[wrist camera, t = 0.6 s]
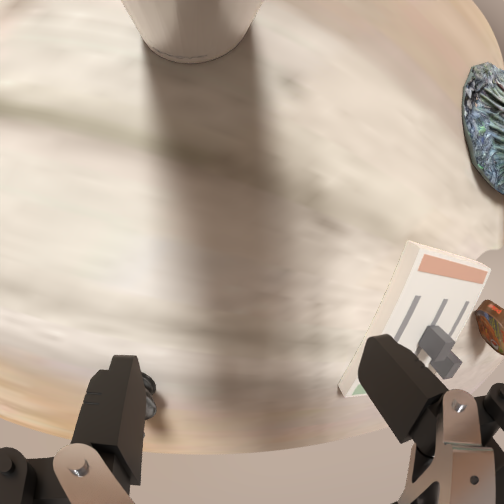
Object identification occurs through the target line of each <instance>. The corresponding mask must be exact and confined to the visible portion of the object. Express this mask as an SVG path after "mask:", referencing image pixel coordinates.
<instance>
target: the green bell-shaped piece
mask: <svg viewBox="0 0 504 504" xmlns="http://www.w3.org/2000/svg"><path fill="white" fill-rule="evenodd" d="M476 97H477V98H478V100H476ZM475 102H476V104H477V107H476V106H475ZM462 121H463V127H464V134H465V137H466V141H467V144H468V148H469V152H470V156H471V160H472V163H473V165H474V166H475V167H476V169H477V170H478V171H479V173H480V174H481V175H482V176H483V178H484V179H485V180H486V181H487V182H488V183H489V184H490V185H491V186H492V187H493V188H494V189H496V190H497V191H498V192H500V193H501V194H504V71H503V70H501V69H498V68H497V67H496V66H495V65H493V64H491V63H488V62H487V63H483V64H480V65H476V66H473V67H471V70H470V73H469V75H468V78H467V80H466V83H465V85H464V87H463V96H462Z"/></svg>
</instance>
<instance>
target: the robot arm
mask: <svg viewBox="0 0 504 504" xmlns="http://www.w3.org/2000/svg"><path fill="white" fill-rule="evenodd" d="M121 1H122V3H123V5H124V7H125V8H126V10H127V12H128V13H129V15H130V17H131V19H132V20H133V22H134V24H135V26H136V28H137V29H138V31H139V33H140V34H141V36H142V38H143V40H144V41H145V43H146V44H147V45H148V47H149V48H150V49H151V50H152V51H153V52H155V53H156V54H157V55H159V56H161V57H163V58H165V59H167V60H170V61H174V62H178V63H189V64H192V63H202V62H206V61H210V60H214V59H216V58H218V57H220V56H223V55H225V54H226V53H228V52H229V51H231V50H232V49H233V48H235V47H236V46H237V44H238V43H239V42H240V41H241V40H242V39H243V37H244V35H245V34H246V32H247V30H248V28H249V26H250V24H251V22H252V21H253V19H254V17H255V16H256V14H257V12H258V10H259V8H260V6H261V5H262V3H263V1H264V0H121ZM358 379H359V382H360V384H361V385H362V387H363V388H364V390H365V391H366V393H367V394H368V396H369V397H370V399H371V400H372V402H373V403H374V405H375V406H376V408H377V409H378V411H379V412H380V414H381V415H382V417H383V418H384V419H385V421H386V422H387V424H388V425H389V427H390V428H391V430H392V431H393V433H394V434H395V436H396V437H397V439H398V440H399V442H400V443H401V444H402V443H404V442H406V441H408V440H411V439H413V441H414V444H413V446H412V449H411V455H410V462H409V468H408V474H407V480H406V486H405V489H404V491H403V493H402V495H401V497H400V498H399V500H398V502H394V503H392V504H504V452H503V451H502V449H501V448H500V447H499V445H498V444H497V443H496V442H495V440H494V439H493V435H494V434H495V433H496V432H497V431H498V429H499V428H500V427H501V428H502V430H503V431H504V384H503V383H496V384H494V385H493V386H492V387H491V389H490V390H489V392H488V393H487V395H486V396H480V397H473V396H472V395H471V394H469V393H468V392H466V391H464V390H460V389H452V390H448V389H447V388H446V386H445V385H444V384H443V383H442V382H441V381H440V380H439V379H438V378H437V377H436V376H435V375H434V374H433V373H432V372H431V371H430V370H429V368H428V367H425V364H424V363H423V362H422V361H421V360H420V361H419V358H418V357H417V356H416V355H415V354H414V353H413V352H412V351H411V350H409V349H408V348H406V347H404V346H402V345H401V344H398V343H397V342H396V341H395V340H394V339H393V338H392V336H390V335H389V334H382V335H377V336H372V337H369V338H368V339H367V341H366V344H365V347H364V351H363V354H362V357H361V361H360V364H359V367H358ZM86 392H87V394H86V395H85V398H84V401H83V402H84V403H83V404H82V407H81V410H80V414H79V417H78V420H77V424H76V427H75V431H74V434H73V438H72V441H71V443H70V444H69V445H66V446H64V447H63V448H61V449H60V450H59V451H58V452H57V453H56V455H55V457H50V458H38V459H26V458H25V457H24V456H23V455H22V454H21V453H20V452H19V451H18V450H16V449H14V448H8V447H5V448H1V449H0V504H135V503H134V501H133V500H132V499H131V498H130V497H129V492H130V485H140V483H141V482H140V481H141V462H142V448H143V436H144V424H145V414H146V403H147V401H146V390H145V386H144V382H143V378H142V374H141V370H140V366H139V362H138V358H137V356H134V355H114V356H113V358H112V361H111V364H110V367H109V370H99V371H98V372H97V373H96V374H95V375H94V376H93V377H92V379H91V380H90V383H89V385H88V388H87V391H86Z"/></svg>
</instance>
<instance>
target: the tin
mask: <svg viewBox="0 0 504 504" xmlns="http://www.w3.org/2000/svg"><path fill="white" fill-rule="evenodd" d="M475 315H476V319H477V322H478V326H479V330H480V333H481V335H482V337H483V339H484V340H485V341H486V342H487V343H488V344H489V345H490V346H491V347H492V348H493V349H494V350H495V351H496V352H498V353H499V354H501V355H504V309H503V308H501V307H500V306H498V305H497V304H495V303H493V302H492V301H490V300H485V301H483V303H482V304H481V305H480V306H479V308H478V309H477V310H476V311H475Z"/></svg>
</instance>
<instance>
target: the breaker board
mask: <svg viewBox="0 0 504 504" xmlns="http://www.w3.org/2000/svg"><path fill="white" fill-rule="evenodd" d="M490 271H491V269H490V268H488V267H487V266H486V265H484V264H482V263H481V262H478V261H475V260H472V259H469V258H466V257H462V256H459V255H456V254H453V253H450V252H446V251H443V250H440V249H437V248H433V247H430V246H427V245H423V244H420V243H416V242H413V241H409V240H407V241H406V244H405V246H404V249H403V252H402V254H401V257H400V259H399V262H398V264H397V267H396V269H395V272H394V274H393V276H392V279H391V281H390V283H389V286H388V288H387V290H386V293H385V295H384V297H383V299H382V302H381V304H380V306H379V308H378V310H377V312H376V314H375V316H374V319H373V321H372V323H371V325H370V327H369V329H368V331H367V333H366V335H365V337H364V339H363V341H362V342H361V344H360V346H359V348H358V350H357V352H356V354H355V356H354V357H353V359H352V361H351V363H350V365H349V367H348V368H347V370H346V372H345V374H344V375H343V377H342V379H341V381H340V382H339V384H338V386H339V388H340V390H341V392H342V394H343V396H344V397H354V396H363V395H368V394H367V393H366V391H365V390H364V388H363V387H362V385H361V384H360V382H359V379H358V367H359V364H360V361H361V357H362V354H363V351H364V347H365V344H366V341H367V339H368V338H369V337H372V336H377V335H382V334H389V335H390V336H392V338H393V339H394V340H395V341H396V342H397V343H398V344H401V345H402V346H404V347H406V348H408V349H409V350H411V351H412V352H413V353H414V354H415V355H416V356H417V357H418V358H419V361H420V360H421V361H422V362H423V363H424V364H425V367H428V368H429V370H430V371H431V372H432V373H433V374H434V375H435V373H436V372H437V371H436V370H435V369H434V368H433V367H432V365H431V364H430V362H431V361H432V359H431V358H430V357H429V355H428V354H427V353H426V352H425V351H424V350H423V349H422V348H421V347H420V345H419V344H418V343H419V341H420V340H421V338H422V336H423V334H424V333H425V331H426V329H427V327H428V326H439V327H441V328H442V329H443V330H444V331H445V332H446V333H447V334H448V335H449V336H450V337H451V338H452V339H453V340H454V341H455V342H456V340H457V338H458V336H459V335H460V333H461V331H462V329H463V327H464V326H465V324H466V322H467V320H468V318H469V316H470V314H471V312H472V310H473V308H474V306H475V304H476V302H477V300H478V298H479V296H480V294H481V292H482V290H483V288H484V285H485V283H486V281H487V278H488V276H489V274H490Z"/></svg>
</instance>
